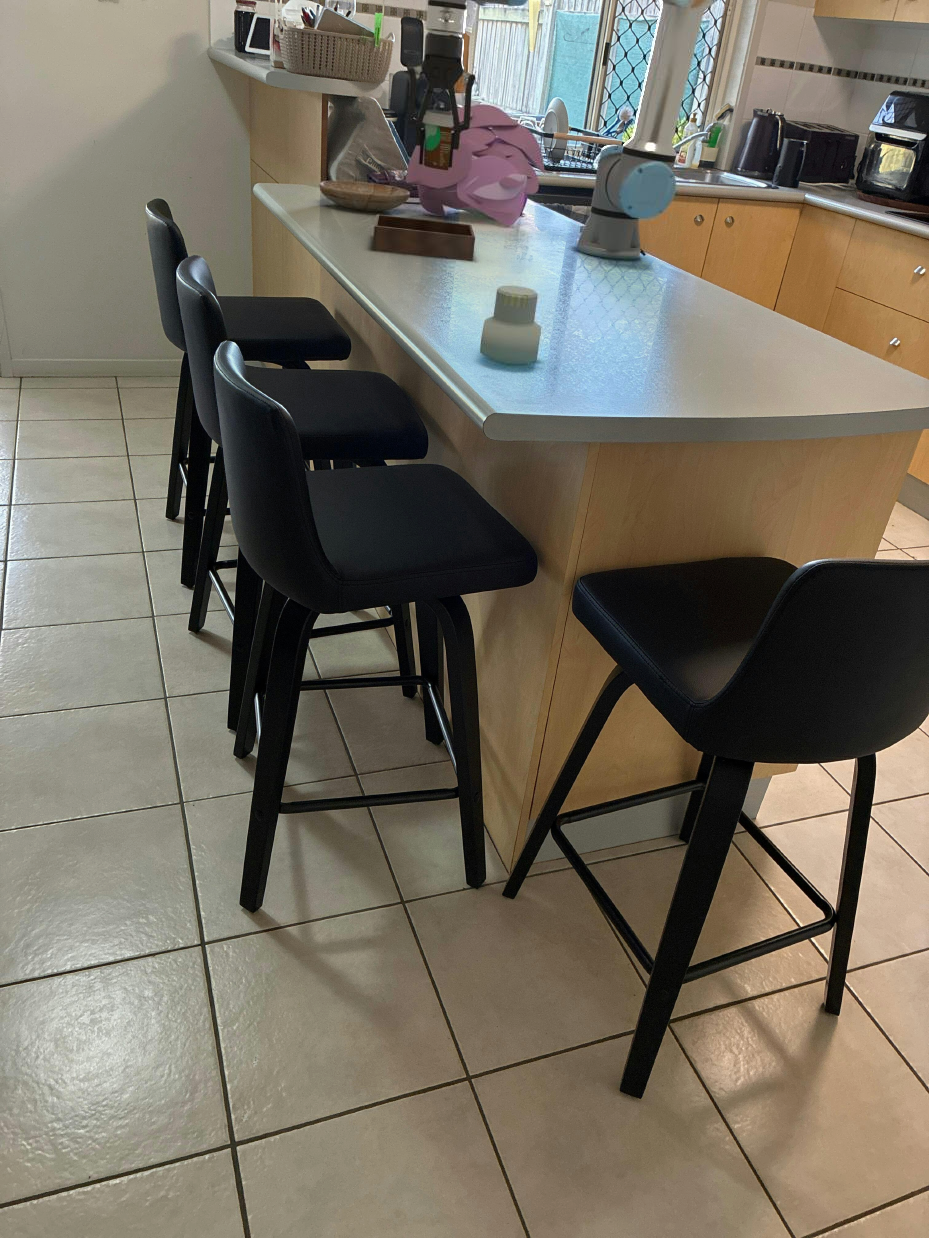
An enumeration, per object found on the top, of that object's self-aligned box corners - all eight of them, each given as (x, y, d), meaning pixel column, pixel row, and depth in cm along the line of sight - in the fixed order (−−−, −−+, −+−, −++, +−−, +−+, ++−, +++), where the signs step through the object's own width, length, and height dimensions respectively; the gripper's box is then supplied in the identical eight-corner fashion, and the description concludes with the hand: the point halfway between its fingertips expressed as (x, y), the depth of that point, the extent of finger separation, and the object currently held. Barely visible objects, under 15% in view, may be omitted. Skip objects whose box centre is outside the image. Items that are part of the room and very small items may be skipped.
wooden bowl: (425, 212, 242) (427, 192, 239) (371, 219, 225) (372, 197, 222) (357, 197, 251) (357, 177, 249) (299, 202, 234) (300, 181, 231)
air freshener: (483, 346, 139) (491, 278, 134) (537, 354, 139) (547, 286, 134) (477, 366, 130) (485, 294, 125) (534, 374, 130) (545, 302, 124)
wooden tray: (469, 247, 207) (471, 224, 204) (472, 261, 194) (475, 237, 192) (375, 237, 205) (376, 214, 202) (372, 250, 192) (374, 226, 189)
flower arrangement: (521, 235, 257) (540, 124, 248) (545, 234, 236) (568, 112, 227) (399, 211, 248) (415, 95, 239) (413, 206, 227) (431, 79, 218)
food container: (418, 161, 196) (422, 108, 191) (447, 164, 197) (451, 111, 191) (418, 168, 186) (422, 112, 180) (448, 171, 186) (453, 116, 181)
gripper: (397, 28, 175) (390, 162, 187) (492, 39, 176) (480, 172, 189) (398, 29, 181) (391, 158, 193) (490, 39, 183) (477, 167, 195)
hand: (435, 165), depth 191 cm, fingers closed on food container, 5 cm apart
